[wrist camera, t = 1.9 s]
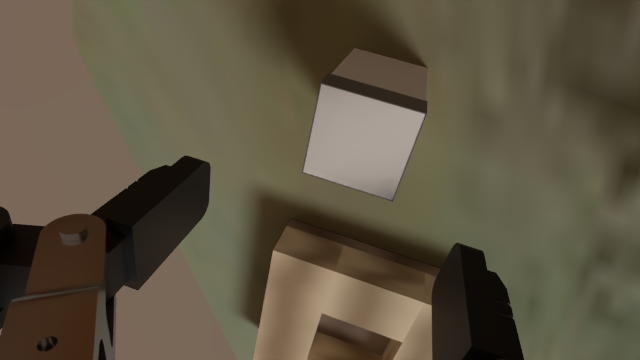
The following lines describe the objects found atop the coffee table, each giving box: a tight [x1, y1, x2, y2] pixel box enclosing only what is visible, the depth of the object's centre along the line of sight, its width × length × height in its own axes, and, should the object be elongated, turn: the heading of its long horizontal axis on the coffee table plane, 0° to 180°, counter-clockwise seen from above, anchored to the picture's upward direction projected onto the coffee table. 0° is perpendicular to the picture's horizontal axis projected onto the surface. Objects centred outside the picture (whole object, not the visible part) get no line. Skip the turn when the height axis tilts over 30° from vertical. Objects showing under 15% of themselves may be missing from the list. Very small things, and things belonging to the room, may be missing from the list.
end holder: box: [253, 219, 440, 360], centre depth 32 cm, size 16×16×4 cm
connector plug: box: [302, 48, 428, 202], centre depth 20 cm, size 5×5×8 cm
